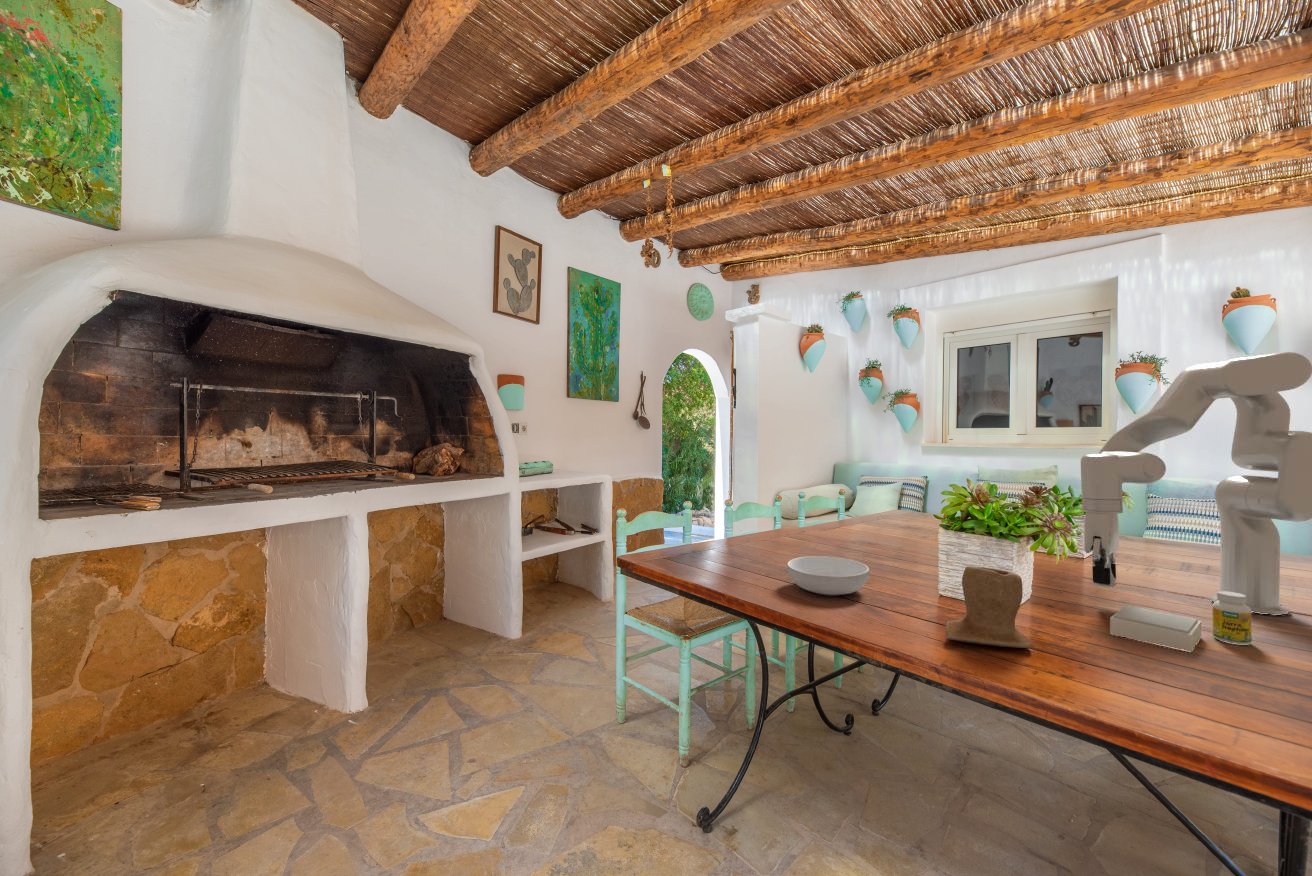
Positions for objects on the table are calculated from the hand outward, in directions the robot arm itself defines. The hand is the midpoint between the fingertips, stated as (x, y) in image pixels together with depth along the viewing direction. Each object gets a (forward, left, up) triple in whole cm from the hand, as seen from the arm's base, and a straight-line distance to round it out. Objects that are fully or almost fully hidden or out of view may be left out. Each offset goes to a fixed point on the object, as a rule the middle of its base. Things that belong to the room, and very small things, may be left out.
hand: (1104, 580), depth 128 cm
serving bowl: (+40, -50, -7) cm, 64 cm away
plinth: (+15, +11, -7) cm, 20 cm away
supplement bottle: (+6, +21, -7) cm, 23 cm away
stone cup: (+45, -10, -7) cm, 46 cm away
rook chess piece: (0, 0, -1) cm, 1 cm away
